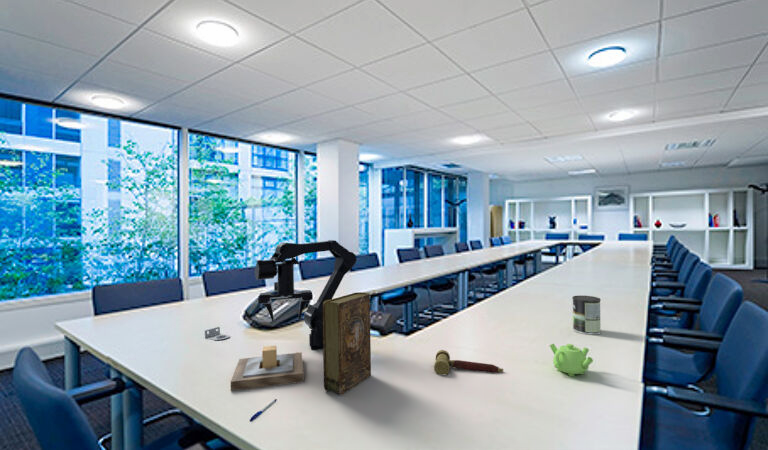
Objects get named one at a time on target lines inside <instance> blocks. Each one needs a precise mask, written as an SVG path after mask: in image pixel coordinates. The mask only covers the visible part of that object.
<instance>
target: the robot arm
mask: <svg viewBox="0 0 768 450" xmlns="http://www.w3.org/2000/svg"><path fill="white" fill-rule="evenodd" d="M321 252H329V253H330V254H331V255H332V256H333V257H334V258H335V260H334V266H333V271H332V273H331V275H330V277H329V279H328V280H327V282H326V284H325V285H324V287H323V290H322V292H321V293H320V295H319V297H318V299H317V301H316V302H315V303H314V304H311V303H310V301H312V300H313V292H312V290H311V289H305V290H303V289H302V290H301V291H300V292H295V275H294V274H295V273H294V272H295V270H294V269H295V267H294V265H300V261H298V260H297V259H296V258H297V257H299V256H301V255H304V254H311V253H312V254H313V253H321ZM357 260H358V259H357V256H356V254H355V253H354V252H353V251H350V250H348V249H347V248H345V247H344V246H343V245H341V244H340V243H339V242H338V241H337V240H333V239H329V240H324V241H316V242H315V241H314V242H305V243H292V242H280V243H278V244H277V245H276V247H275V251H274V253H273V254H272V256H271V257H270V258H269V259H263V260H262V259H256V263H255V268H254V276H255V279H256V281H259V280H260V281H261V280H271V279H274V278H275V277H276V276H277V281H276V282H275V281H274V283H273V284H274V285H273V287H274V288H273V291H274V292H277V294H276V293H275V294H272V293H271V292H261V293H259V295H258V296H257V297H258V298H257V303H258V304H261V306H264V307H265V308H266V310H267V312H268V314H269V316H270V319H271V321H272V322H274V321H275V320H274V319H275V318H274V309H273V302H272V301H276V300H292V299H300V300H299V309H298V310H299V311H298V320H301V317H302V314H304V316H303V321H304V323H305V325H307V326H308V328H309V330H310V333H309V334H308V337H309V340H308V343H309V348H310V349H311V350H319V349H322V350H323V302H324V301H327V300H331V299H334V298H333V297H334V296H335V294H336V293H337V290H338V288H339V286H341V285H340V284H341V282H342V281H343V278H344V277H345V275H346V274H347V273H348V272H349V271H351V270H352V269H353V267H354V266H355V265H356V263H357ZM308 303H310V304H308ZM307 304H308V306H307V308H306V311H305V312H304V308H305V306H306V305H307ZM303 312H304V313H303Z"/></svg>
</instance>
